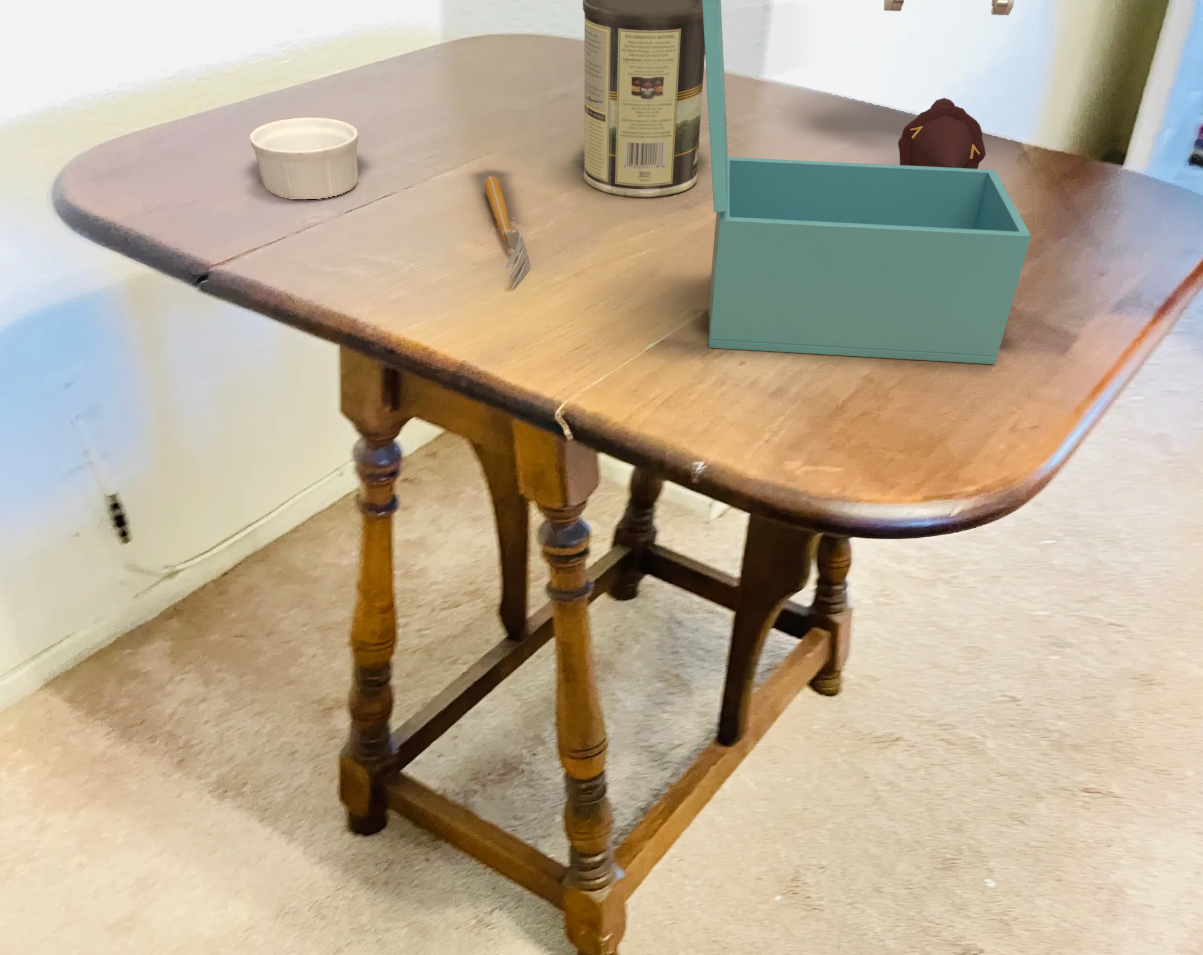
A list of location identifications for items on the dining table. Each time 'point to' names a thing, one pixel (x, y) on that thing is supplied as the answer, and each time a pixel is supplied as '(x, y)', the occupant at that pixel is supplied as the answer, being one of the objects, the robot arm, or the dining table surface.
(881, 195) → the box
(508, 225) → the fork
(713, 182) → the lid
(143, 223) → the dining table surface
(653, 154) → the coffee can
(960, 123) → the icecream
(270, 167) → the ramekin
